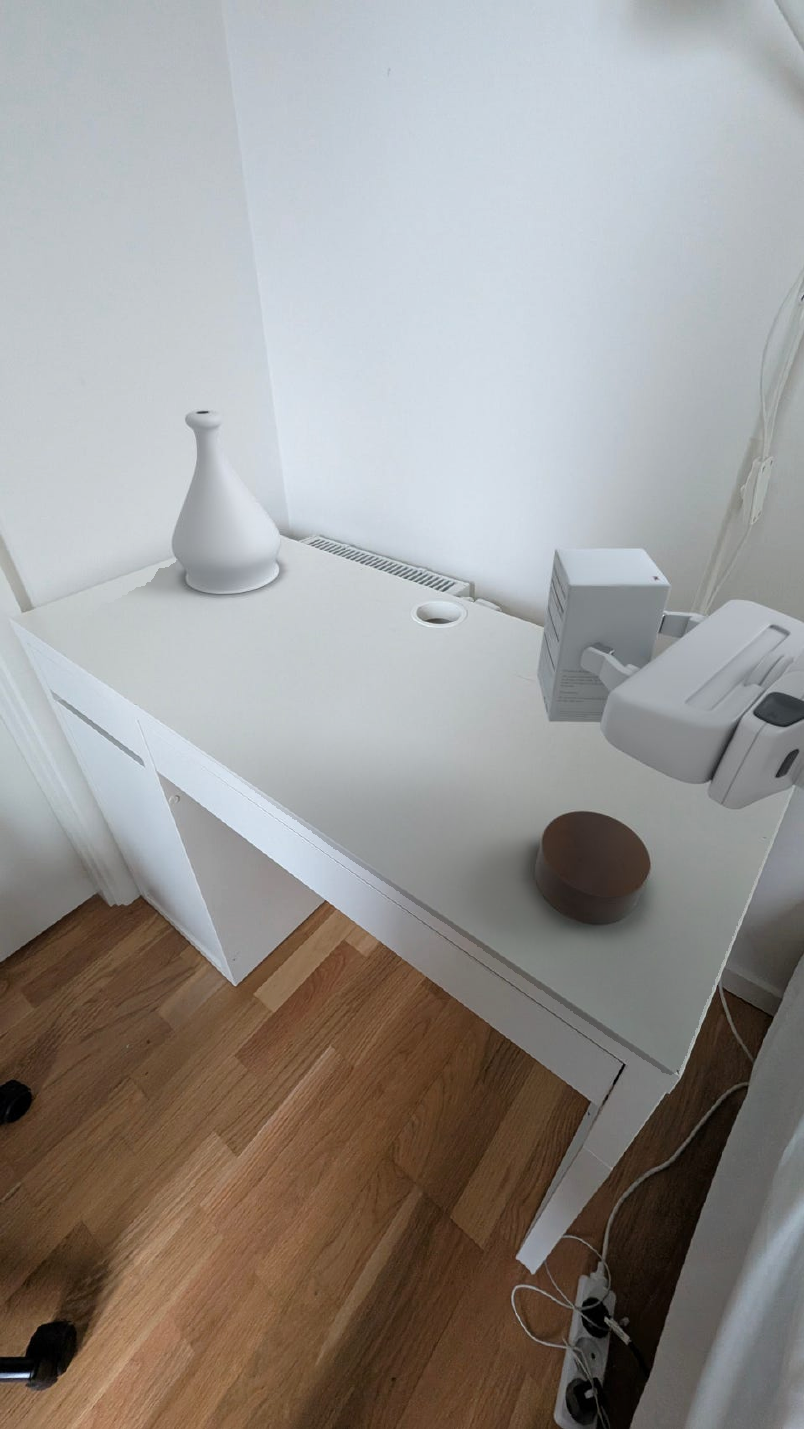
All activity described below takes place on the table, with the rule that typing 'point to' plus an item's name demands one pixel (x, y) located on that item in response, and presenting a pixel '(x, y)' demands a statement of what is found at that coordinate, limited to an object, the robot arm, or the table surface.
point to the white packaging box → (596, 624)
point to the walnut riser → (591, 867)
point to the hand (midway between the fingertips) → (615, 634)
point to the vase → (222, 522)
